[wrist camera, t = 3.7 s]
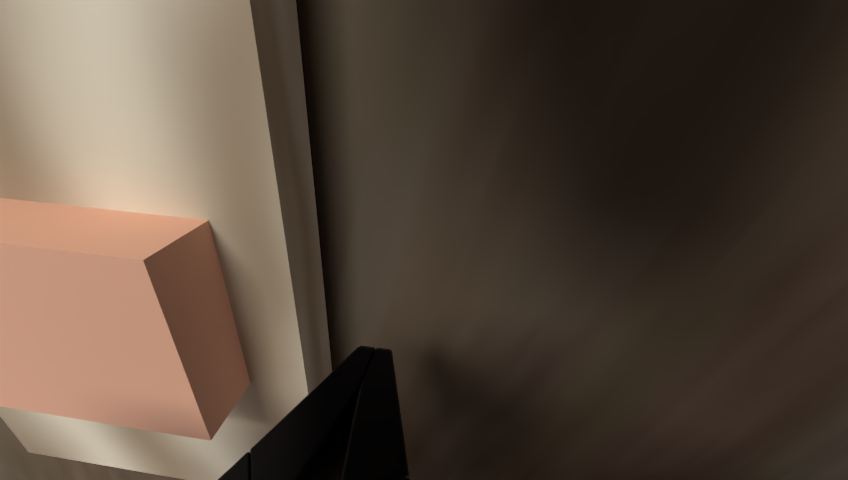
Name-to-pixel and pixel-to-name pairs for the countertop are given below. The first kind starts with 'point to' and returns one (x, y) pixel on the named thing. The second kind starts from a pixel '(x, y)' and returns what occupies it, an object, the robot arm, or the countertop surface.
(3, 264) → the tile
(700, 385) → the countertop surface
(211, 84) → the plate
